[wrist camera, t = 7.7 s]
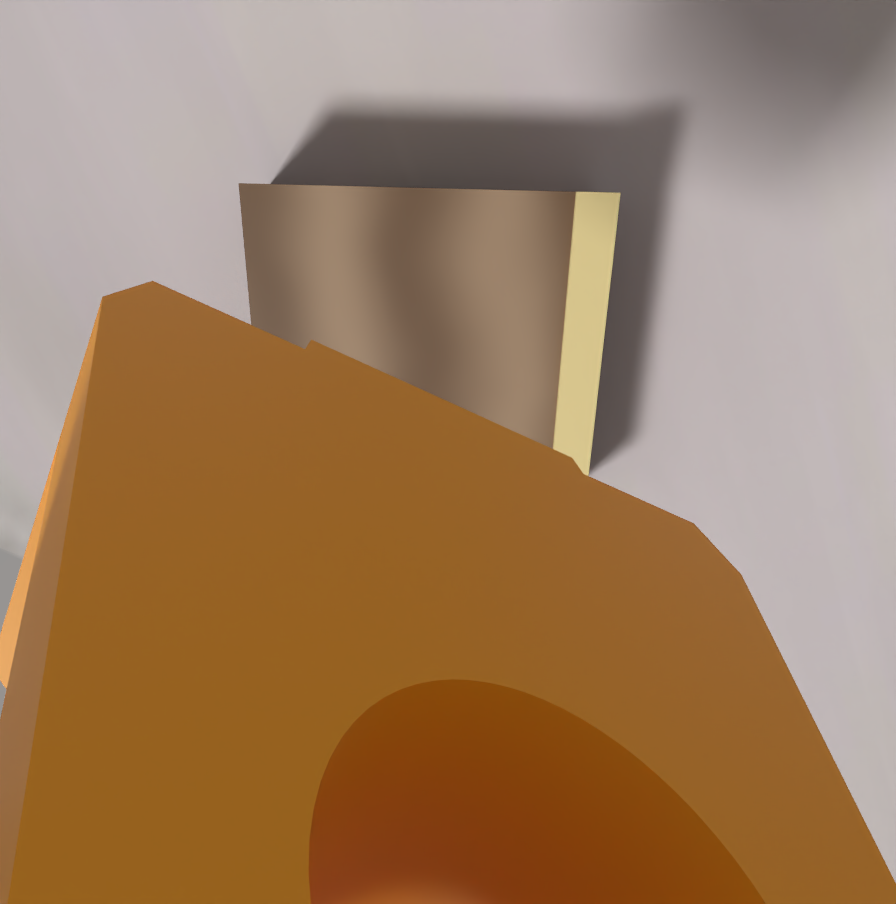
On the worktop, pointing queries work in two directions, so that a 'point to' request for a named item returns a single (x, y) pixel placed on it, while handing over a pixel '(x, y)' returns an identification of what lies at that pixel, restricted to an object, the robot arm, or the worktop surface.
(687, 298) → the worktop surface
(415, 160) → the worktop surface
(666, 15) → the worktop surface
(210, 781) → the bracket
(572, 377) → the dock
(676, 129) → the worktop surface
